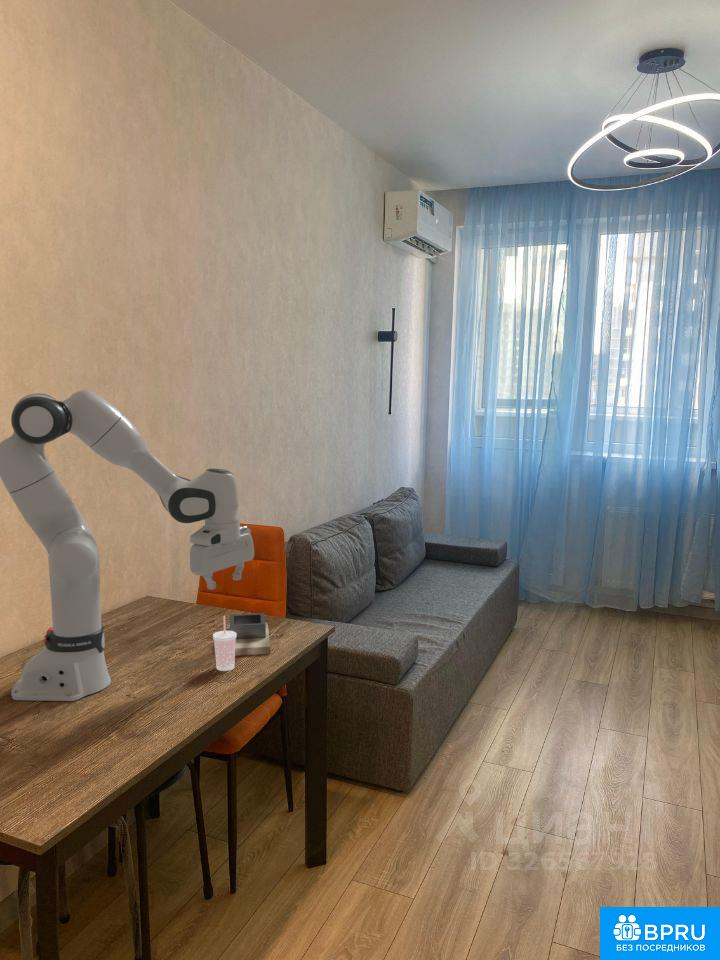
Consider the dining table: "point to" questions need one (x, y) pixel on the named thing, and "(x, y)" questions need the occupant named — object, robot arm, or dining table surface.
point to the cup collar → (248, 625)
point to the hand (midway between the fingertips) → (224, 584)
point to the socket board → (252, 645)
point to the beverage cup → (225, 649)
